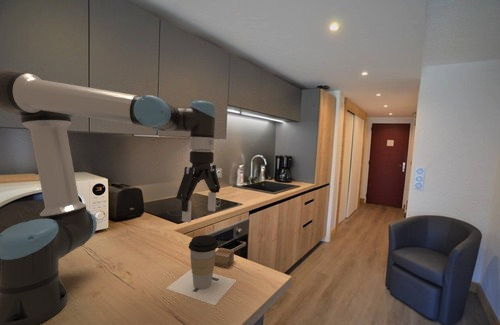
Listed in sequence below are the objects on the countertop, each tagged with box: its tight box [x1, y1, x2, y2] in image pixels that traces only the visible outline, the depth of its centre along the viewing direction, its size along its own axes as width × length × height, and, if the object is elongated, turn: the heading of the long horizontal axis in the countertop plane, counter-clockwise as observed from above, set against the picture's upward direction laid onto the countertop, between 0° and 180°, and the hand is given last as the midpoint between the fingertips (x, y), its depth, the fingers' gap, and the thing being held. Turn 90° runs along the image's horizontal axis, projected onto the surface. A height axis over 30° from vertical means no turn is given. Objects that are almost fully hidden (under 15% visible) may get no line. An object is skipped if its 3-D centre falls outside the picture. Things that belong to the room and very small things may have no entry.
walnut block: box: [214, 247, 235, 270], centre depth 90 cm, size 6×6×5 cm
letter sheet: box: [165, 268, 237, 306], centre depth 76 cm, size 14×18×1 cm
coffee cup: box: [188, 234, 219, 289], centre depth 76 cm, size 9×9×15 cm
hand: (200, 215), depth 76 cm, fingers open, 13 cm apart
